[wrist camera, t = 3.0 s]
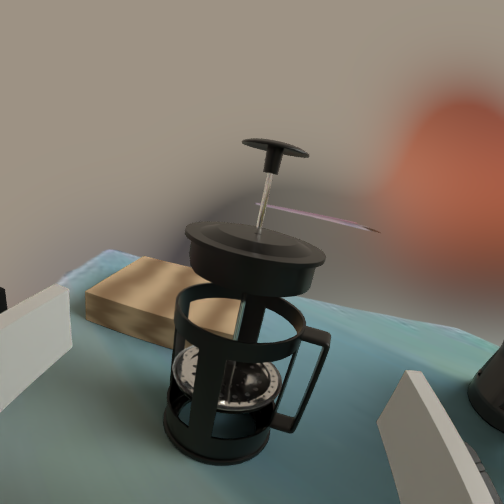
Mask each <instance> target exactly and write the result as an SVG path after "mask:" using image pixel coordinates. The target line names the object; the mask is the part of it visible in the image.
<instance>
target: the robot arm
mask: <svg viewBox="0 0 504 504" xmlns="http://www.w3.org/2000/svg"><path fill="white" fill-rule="evenodd" d="M72 347H73V345H72V334H71V321H70V301H69V289H68V288H65V287H63V286H60V285H57V284H54V285H52V286H50V287H48V288H46V289H45V290H43V291H41V292H39V293H37V294H35V295H33V296H32V297H30V298H28V299H26V300H24V301H22V302H21V303H19V304H17V305H15V306H13V307H12V308H10V309H8V310H6V311H4V312H3V313H1V314H0V412H1V411H2V410H3V409H4V408H6V407H7V406H8V405H9V404H10V403H11V402H12V401H13V400H14V399H15V398H16V397H17V396H18V395H19V394H20V393H22V392H23V391H24V390H25V389H26V388H27V387H28V386H29V385H30V384H31V383H33V382H34V381H35V380H36V379H37V378H38V377H39V376H40V375H41V374H42V373H44V372H45V371H46V370H47V369H48V368H49V367H50V366H51V365H53V364H54V363H55V362H56V361H57V360H58V359H59V358H61V357H62V356H63V355H64V354H65V353H66V352H67V351H69V350H70V349H71V348H72ZM468 396H469V399H470V401H471V403H472V405H473V407H474V408H475V410H476V411H477V412H478V413H479V414H480V415H481V416H482V417H483V418H484V419H485V420H486V421H487V422H488V423H490V424H491V425H492V426H494V427H495V428H497V429H499V430H501V431H503V432H504V341H503V343H502V345H501V347H500V348H499V349H498V350H497V351H496V353H495V354H494V355H493V356H492V357H491V358H490V359H489V360H488V361H487V362H486V364H485V365H484V366H483V367H482V368H481V369H480V370H479V371H478V372H477V373H476V374H475V376H474V378H473V380H472V381H471V383H470V385H469V387H468ZM377 425H378V428H379V431H380V434H381V438H382V441H383V444H384V447H385V450H386V454H387V457H388V460H389V464H390V467H391V470H392V474H393V477H394V481H395V484H396V488H397V491H398V495H399V499H400V502H401V504H503V503H502V501H501V499H500V497H499V495H498V493H497V491H496V489H495V487H494V485H493V483H492V481H491V479H490V477H489V475H488V473H487V472H485V468H484V466H483V464H481V460H480V458H479V457H478V455H477V453H476V451H475V450H474V449H473V448H472V447H471V446H470V445H469V444H468V443H467V442H463V440H462V439H461V437H460V435H459V433H458V432H457V430H456V428H455V426H454V425H453V423H452V421H451V419H450V418H449V416H448V414H447V413H446V411H445V409H444V407H443V406H442V404H441V402H440V401H439V399H438V398H437V396H436V394H435V393H434V391H433V389H432V388H431V386H430V385H429V383H428V381H427V380H426V378H425V377H424V375H423V374H422V372H421V371H411V370H405V372H404V374H403V376H402V378H401V380H400V381H399V383H398V385H397V387H396V389H395V391H394V393H393V394H392V396H391V398H390V400H389V401H388V403H387V405H386V407H385V408H384V410H383V412H382V413H381V415H380V417H379V418H378V420H377Z"/></svg>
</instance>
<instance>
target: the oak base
mask: <svg viewBox="0 0 504 504" xmlns="http://www.w3.org/2000/svg"><path fill="white" fill-rule="evenodd" d="M200 283H210V282H209V281H207V280H205V279H203V278H202V277H200V276H199V275H197V274H196V273H195V272H194V270H193V269H192V268H190V267H186V266H182V265H178V264H174V263H170V262H166V261H162V260H158V259H154V258H150V257H146V256H143V257H141V258H140V259H138V260H136V261H135V262H133V263H131V264H130V265H128V266H126V267H124V268H123V269H121V270H119V271H118V272H116V273H115V274H113V275H111V276H110V277H108V278H106V279H105V280H103V281H101V282H100V283H98V284H97V285H95V286H93V287H92V288H90V289H88V290H87V291H85V305H86V320H88V321H91V322H94V323H96V324H99V325H102V326H104V327H107V328H110V329H112V330H115V331H118V332H121V333H124V334H127V335H130V336H132V337H135V338H138V339H141V340H145V341H148V342H151V343H154V344H157V345H160V346H164V347H167V348H170V349H173V342H174V332H175V324H174V311H175V302H176V297H177V295H178V293H179V292H180V291H182V290H183V289H184V288H187V287H189V286H192V285H196V284H200ZM240 301H241V300H236V299H228V298H206V299H200V300H196V301H192V302H190V308H189V316H188V319H189V320H190V321H191V322H193V323H194V324H196V325H197V326H199V327H201V328H202V329H204V330H206V331H209V332H211V333H213V334H216V335H218V336H222V337H225V338H228V339H233V335H234V330H235V325H236V320H237V315H238V311H239V306H240ZM190 346H192V344H190V343H189V342H188V341H187V340H186V339H185V348H184V349H186V348H188V347H190Z"/></svg>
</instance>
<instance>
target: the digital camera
mask: <svg viewBox="0 0 504 504" xmlns="http://www.w3.org/2000/svg"><path fill="white" fill-rule="evenodd" d="M6 310H7V302H6V294H5V289H3V288H1V287H0V314H1V313H3V312H4V311H6Z"/></svg>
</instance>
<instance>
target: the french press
mask: <svg viewBox="0 0 504 504" xmlns="http://www.w3.org/2000/svg"><path fill="white" fill-rule="evenodd" d="M242 143H243V144H244V145H247V146H250V147H253V148H257V149H261V150H265V151H267V152H266V158H265V165H264V170H263V172H266V173H267V178H266V183H265V188H264V192H263V197H262V202H261V206H260V211H259V216H258V221H257V226H251V225H244V224H235V223H225V222H197V223H192V224H189V225H187V226H186V229H185V235H186V237H187V238H188V239H190V240H191V244H190V252H189V255H190V265H191V267H192V269H193V270H194V272H195V273H196V274H197V275H199V276H200V277H202V278H203V279H205V280H207V281H209V282H210V283H200V284H196V285H192V286H189V287H187V288H184V289H183V290H182V291H180V292H179V293H178V295H177V297H176V302H175V311H174V324H175V332H174V342H173V353H172V364H171V376H170V386H169V389H168V392H167V407H166V409H165V412H164V417H163V425H164V429H165V432H166V434H167V436H168V438H169V440H170V441H171V442H172V443H173V445H174V446H175V447H176V448H177V449H178V450H180V451H181V452H182V453H184V454H185V455H187V456H189V457H191V458H192V459H194V460H197V461H200V462H203V463H207V464H212V465H234V464H240V463H243V462H245V461H248V460H250V459H252V458H254V457H255V456H257V455H258V454H259V453H260V452H261V451H262V450H263V449H264V447H265V446H266V444H267V442H268V439H269V435H270V428H273V429H276V430H280V431H283V432H286V433H294V431H295V430H296V428H297V426H298V423H299V421H300V419H301V417H302V415H303V412H304V410H305V408H306V406H307V403H308V401H309V399H310V396H311V394H312V392H313V389H314V387H315V384H316V382H317V379H318V377H319V374H320V372H321V369H322V367H323V364H324V362H325V359H326V357H327V354H328V351H329V348H330V341H331V335H330V333H328V332H326V331H322V330H319V329H315V328H312V327H308V326H306V321H305V318H304V316H303V315H302V313H301V312H300V311H299V310H298V309H297V308H296V307H295V306H294V305H292V304H291V303H289V302H288V301H286V300H285V299H283V298H281V297H291V296H297V295H300V294H303V293H305V292H307V291H308V290H309V288H310V287H311V283H312V279H313V276H314V272H315V268H316V267H318V266H321V265H323V264H324V262H325V259H326V256H325V254H324V253H323V251H321V250H320V249H318V248H317V247H315V246H313V245H311V244H309V243H307V242H305V241H302V240H300V239H297V238H294V237H291V236H288V235H285V234H282V233H279V232H276V231H272V230H269V229H265V228H262V224H263V220H264V215H265V210H266V206H267V201H268V196H269V191H270V187H271V182H272V178H273V174H276V175H278V171H279V168H280V164H281V160H282V156H283V154H284V155H290V156H295V157H304V158H308V157H309V154H308V153H307V152H305V151H304V150H302V149H300V148H298V147H295V146H293V145H290V144H287V143H283V142H279V141H274V140H268V139H257V138H256V139H255V138H253V139H246V140H243V141H242ZM206 298H228V299H236V300H241V301H240V306H239V311H238V315H237V320H236V325H235V330H234V335H233V339H228V338H225V337H222V336H218V335H216V334H213V333H211V332H209V331H206V330H204V329H202V328H201V327H199V326H197V325H196V324H194V323H193V322H191V321H190V320H189V319H188V316H189V308H190V302H192V301H196V300H200V299H206ZM266 308H267V309H270V310H272V311H274V312H276V313H277V314H279V315H281V316H282V317H284V318H285V319H286V320H288V321H289V322H290V323H291V324H292V325H293V326H294V328H295V330H296V331H297V335H295V336H294V337H292V338H289V339H287V340H284V341H279V342H273V343H257V341H258V337H259V333H260V329H261V325H262V321H263V317H264V313H265V309H266ZM185 339H186V340H187V341H188V342H189V343H190V344H192V346H190V347H188V348H186V349H184V348H185ZM301 340H302V341H305V342H309V343H312V344H316V345H319V346H322V350H321V352H320V355H319V358H318V361H317V363H316V366H315V368H314V371H313V374H312V376H311V379H310V381H309V384H308V386H307V389H306V391H305V394H304V396H303V399H302V401H301V403H300V406H299V408H298V411H297V413H296V415H295V417H290V416H286V415H283V414H280V413H277V409H278V407H279V404H280V401H281V398H282V396H283V393H284V390H285V387H286V385H287V382H288V379H289V376H290V373H291V370H292V367H293V364H294V362H295V359H296V356H297V353H298V350H299V347H300V343H301ZM292 354H293V355H292ZM290 355H292V358H291V361H290V364H289V367H288V370H287V373H286V376H285V379H284V382H283V384H282V379H281V376H280V373H279V371H278V370H277V368H276V367H275V366H274V365H273V364H272V363H271V362H273V361H277V360H281V359H284V358H286V357H288V356H290ZM281 386H282V387H281ZM279 392H280V393H279ZM278 394H279V396H278ZM277 396H278V399H277V401H276V404H275V403H274V399H275V398H276V397H277ZM191 401H192V403H191V411H190V419H189V426H187V425H186V424H185V423H184V422H182V421H181V420H180V419H179V417H178V416H179V412H180V411H181V409H182V408H183V407H184V406H185V405H186V404H187V403H189V402H191ZM216 412H219V413H226V414H243V413H249V414H250V415H251V416H252V418H253V420H254V423H255V426H256V431H255V434H253V435H250V436H247V437H242V438H235V439H226V438H217V437H212V436H211V435H212V430H213V425H214V420H215V415H216Z"/></svg>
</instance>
